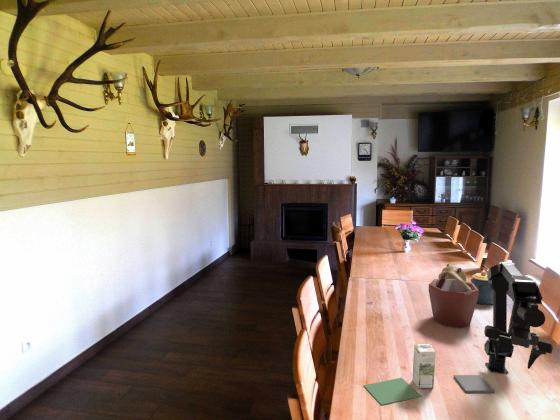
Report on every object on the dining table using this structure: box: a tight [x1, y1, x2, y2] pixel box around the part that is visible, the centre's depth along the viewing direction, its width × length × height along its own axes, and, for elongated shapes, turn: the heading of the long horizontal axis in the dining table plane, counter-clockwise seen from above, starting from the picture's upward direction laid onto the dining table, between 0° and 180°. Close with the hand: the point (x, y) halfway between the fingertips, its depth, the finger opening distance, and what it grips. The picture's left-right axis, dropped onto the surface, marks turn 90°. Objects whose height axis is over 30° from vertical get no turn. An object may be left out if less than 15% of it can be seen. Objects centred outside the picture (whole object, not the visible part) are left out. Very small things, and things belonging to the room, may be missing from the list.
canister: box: [469, 270, 493, 306], centre depth 226 cm, size 13×13×18 cm
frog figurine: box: [437, 263, 467, 282], centre depth 261 cm, size 14×18×12 cm
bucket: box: [428, 271, 479, 329], centre depth 198 cm, size 24×22×25 cm
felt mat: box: [363, 377, 423, 406], centre depth 141 cm, size 16×12×1 cm
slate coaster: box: [453, 374, 495, 394], centre depth 144 cm, size 10×10×1 cm
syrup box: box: [412, 343, 437, 389], centre depth 144 cm, size 6×6×14 cm
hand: (512, 363), depth 130 cm, fingers open, 9 cm apart
